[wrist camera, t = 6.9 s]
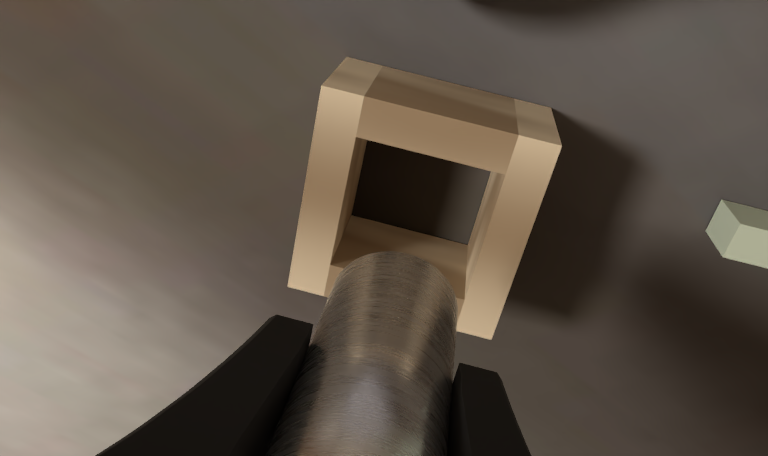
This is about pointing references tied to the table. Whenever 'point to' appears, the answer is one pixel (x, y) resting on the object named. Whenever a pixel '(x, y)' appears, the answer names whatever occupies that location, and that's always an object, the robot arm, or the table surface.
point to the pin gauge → (376, 365)
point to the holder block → (434, 138)
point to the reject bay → (740, 233)
